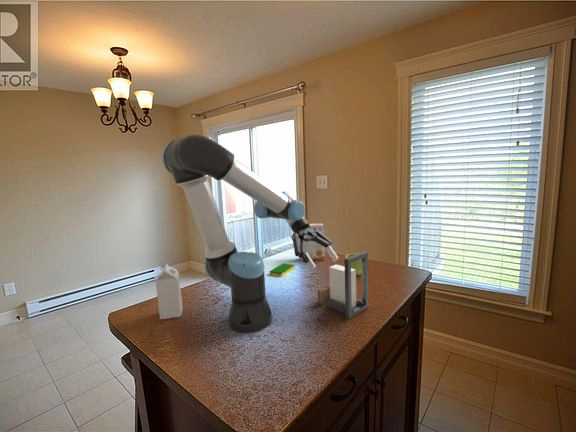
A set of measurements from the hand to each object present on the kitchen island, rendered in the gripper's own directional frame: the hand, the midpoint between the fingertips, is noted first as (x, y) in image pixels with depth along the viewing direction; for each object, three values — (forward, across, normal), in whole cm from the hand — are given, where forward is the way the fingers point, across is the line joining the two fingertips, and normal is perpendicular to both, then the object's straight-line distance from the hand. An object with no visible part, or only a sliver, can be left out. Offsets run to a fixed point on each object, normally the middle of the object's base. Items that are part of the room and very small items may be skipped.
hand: (325, 264), depth 111 cm
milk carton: (-14, +49, -34) cm, 62 cm away
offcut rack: (+18, +2, -2) cm, 18 cm away
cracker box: (-17, -34, -38) cm, 54 cm away
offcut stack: (+12, +2, -8) cm, 14 cm away
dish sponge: (-15, -9, -37) cm, 41 cm away
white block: (+17, +2, -3) cm, 17 cm away
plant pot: (+5, -30, -15) cm, 34 cm away
